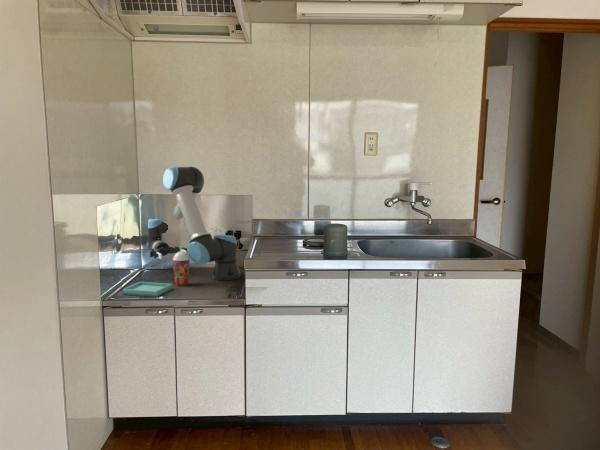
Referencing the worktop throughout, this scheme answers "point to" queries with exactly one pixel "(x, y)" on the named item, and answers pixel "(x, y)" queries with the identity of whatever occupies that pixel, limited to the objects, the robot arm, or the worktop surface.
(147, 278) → the worktop surface
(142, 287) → the tray
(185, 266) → the smoothie
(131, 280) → the worktop surface
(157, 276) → the worktop surface
